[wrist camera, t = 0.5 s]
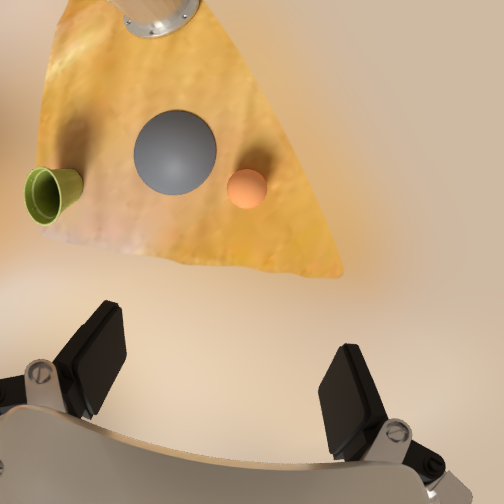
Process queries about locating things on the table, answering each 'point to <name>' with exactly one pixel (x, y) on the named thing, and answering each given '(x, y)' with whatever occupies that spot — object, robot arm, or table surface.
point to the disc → (174, 153)
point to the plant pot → (50, 193)
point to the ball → (246, 188)
